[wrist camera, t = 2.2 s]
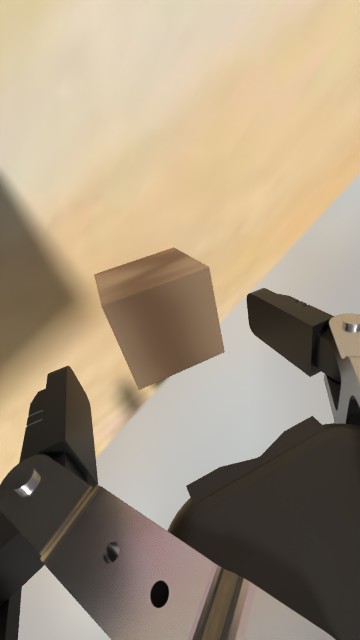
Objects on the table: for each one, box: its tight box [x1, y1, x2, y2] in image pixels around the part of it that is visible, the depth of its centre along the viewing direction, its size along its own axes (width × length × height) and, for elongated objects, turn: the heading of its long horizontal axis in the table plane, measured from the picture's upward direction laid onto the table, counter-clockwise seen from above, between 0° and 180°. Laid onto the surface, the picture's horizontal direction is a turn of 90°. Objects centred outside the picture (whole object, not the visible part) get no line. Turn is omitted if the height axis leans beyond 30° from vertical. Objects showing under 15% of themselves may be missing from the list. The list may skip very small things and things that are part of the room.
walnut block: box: [95, 248, 224, 390], centre depth 14 cm, size 5×5×5 cm
